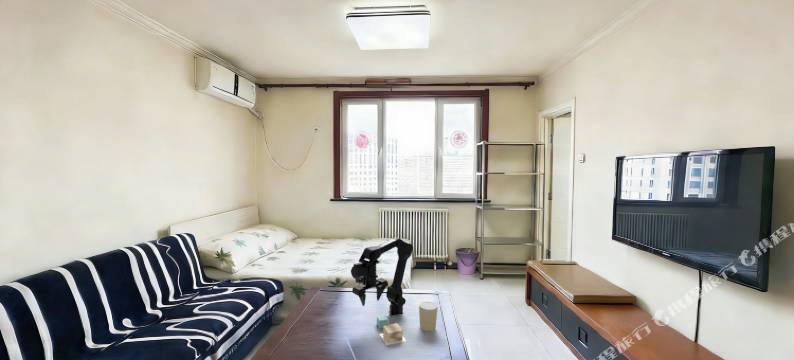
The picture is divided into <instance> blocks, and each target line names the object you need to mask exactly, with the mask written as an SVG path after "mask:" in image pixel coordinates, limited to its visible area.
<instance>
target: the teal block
mask: <svg viewBox="0 0 794 360" xmlns="http://www.w3.org/2000/svg"><path fill="white" fill-rule="evenodd" d="M385 325H389V318H388V317H387V315H384V314H383V315H379V316H376V326H377V327H378V328H379V329H383V326H385Z"/></svg>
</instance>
